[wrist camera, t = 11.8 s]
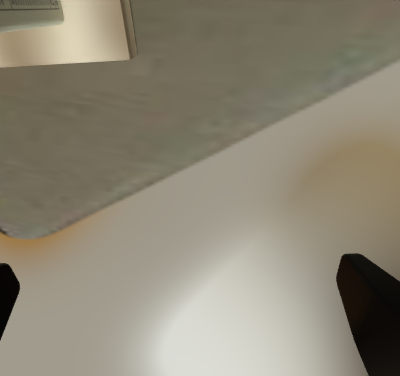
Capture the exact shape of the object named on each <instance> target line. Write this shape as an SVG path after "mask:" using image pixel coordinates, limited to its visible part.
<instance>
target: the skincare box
mask: <svg viewBox="0 0 400 376" xmlns="http://www.w3.org/2000/svg"><path fill="white" fill-rule="evenodd" d="M63 22H64V17H63V13H62V8H61V4H60V1H59V0H0V33H4V32H11V31H17V30H26V29H34V28H42V27H48V26H55V25H61V24H63Z"/></svg>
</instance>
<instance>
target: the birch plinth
mask: <svg viewBox="0 0 400 376" xmlns="http://www.w3.org/2000/svg"><path fill="white" fill-rule="evenodd" d="M59 1H60V4H61V8H62V13H63V17H64V22H63V24H61V25H55V26H48V27H42V28H34V29H26V30H17V31H11V32H4V33H0V67H15V66H32V65H49V64H66V63H82V62H99V61H116V60H130V59H132V58H134V57H135V56H137V55H138V54H137V48H136V41H135V35H134V28H133V21H132V15H131V8H130V2H129V0H59Z"/></svg>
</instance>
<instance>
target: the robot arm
mask: <svg viewBox="0 0 400 376" xmlns="http://www.w3.org/2000/svg"><path fill="white" fill-rule="evenodd" d="M336 281H337V286H338V289H339V292H340V296H341V299H342V302H343V305H344V309H345V312H346V316H347V319H348V322H349V325H350V329H351V332H352V335H353V338H354V341H355V343H356V346H357V349H358V351H359V354H360V356H361V359H362V361H363V363H364V366H365V368H366V371H367V373H368V375H369V376H400V281H398V280H397V279H395V278H394V277H393V276H391V275H390V274H388V273H387V272H386V271H384V270H383V269H381V268H380V267H378V266H377V265H376V264H374V263H373V262H371V261H370V260H368V259H367V258H366V257H364V256H363V255H361V254H357V253H356V254H344V255H343V256H342V257H341V260H340V264H339V268H338V272H337V276H336ZM19 290H20V284H19V281H18V279H17V278H16V276H15V274H14V272H13V271H12V269H11V267H10V266H9V265H8V264H6V263H0V340H1V337H2V335H3V332H4V330H5V327H6V325H7V322H8V320H9V317H10V314H11V312H12V309H13V306H14V304H15V301H16V299H17V296H18V294H19Z"/></svg>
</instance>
